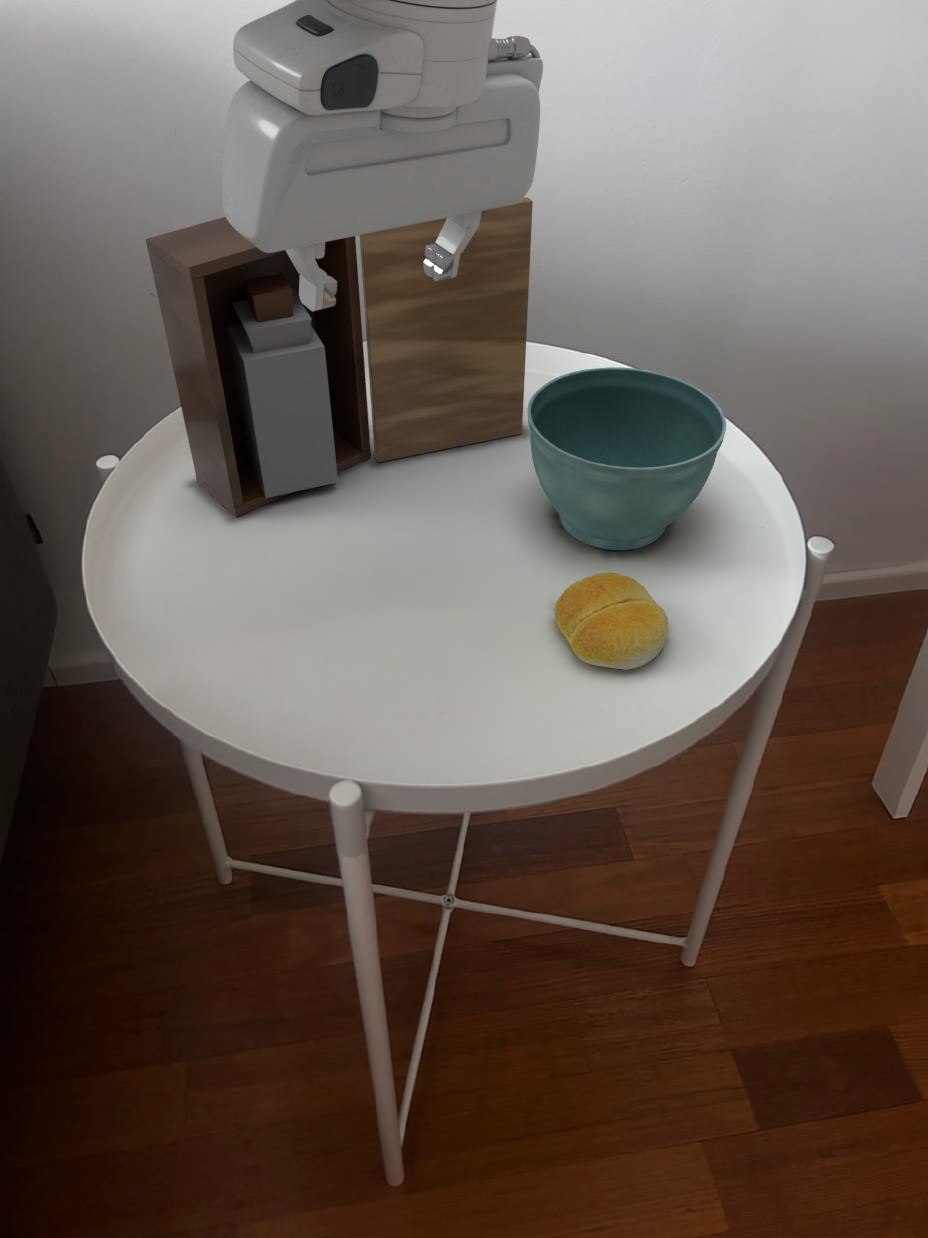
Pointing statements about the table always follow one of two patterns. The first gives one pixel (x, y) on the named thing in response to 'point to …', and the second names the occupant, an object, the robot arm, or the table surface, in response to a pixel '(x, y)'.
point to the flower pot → (622, 451)
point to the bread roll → (611, 621)
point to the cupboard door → (447, 335)
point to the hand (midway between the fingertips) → (380, 289)
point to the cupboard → (201, 357)
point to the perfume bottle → (282, 389)
